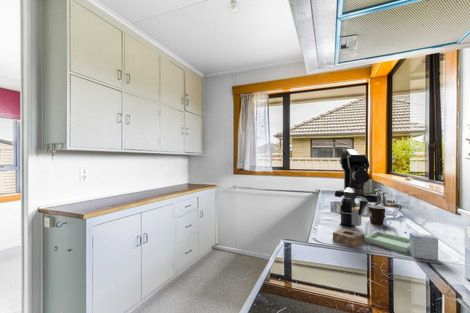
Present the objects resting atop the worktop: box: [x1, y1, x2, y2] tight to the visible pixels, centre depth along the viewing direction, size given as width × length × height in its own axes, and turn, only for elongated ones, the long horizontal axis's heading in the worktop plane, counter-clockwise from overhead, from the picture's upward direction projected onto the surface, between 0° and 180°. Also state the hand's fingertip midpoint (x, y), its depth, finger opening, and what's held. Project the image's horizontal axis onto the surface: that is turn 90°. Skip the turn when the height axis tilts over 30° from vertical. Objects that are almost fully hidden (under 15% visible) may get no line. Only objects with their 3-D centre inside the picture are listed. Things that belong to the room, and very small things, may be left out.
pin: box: [352, 206, 362, 227], centre depth 105 cm, size 3×3×8 cm
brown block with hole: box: [332, 228, 365, 248], centre depth 106 cm, size 10×10×4 cm
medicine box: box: [408, 232, 439, 261], centre depth 90 cm, size 8×4×9 cm, turn 71°
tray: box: [364, 230, 410, 255], centre depth 103 cm, size 16×14×2 cm
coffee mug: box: [368, 204, 386, 226], centre depth 132 cm, size 12×9×10 cm
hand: (356, 214), depth 105 cm, fingers closed on pin, 3 cm apart
